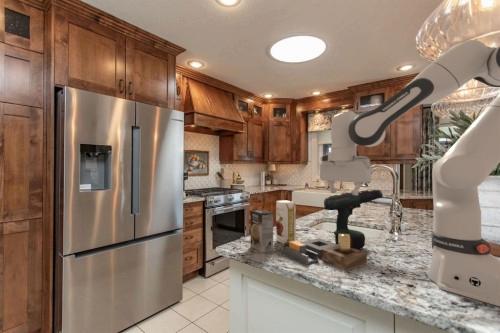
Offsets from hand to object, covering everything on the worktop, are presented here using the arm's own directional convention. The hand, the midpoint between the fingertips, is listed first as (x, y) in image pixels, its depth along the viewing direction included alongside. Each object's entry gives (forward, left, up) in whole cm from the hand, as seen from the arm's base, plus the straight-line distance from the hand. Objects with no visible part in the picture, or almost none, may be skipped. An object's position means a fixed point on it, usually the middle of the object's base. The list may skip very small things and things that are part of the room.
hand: (343, 194), depth 90 cm
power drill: (+8, -16, -25) cm, 31 cm away
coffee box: (+28, +18, -25) cm, 42 cm away
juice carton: (+30, +3, -25) cm, 39 cm away
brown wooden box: (0, 0, -25) cm, 25 cm away
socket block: (+13, -1, -25) cm, 28 cm away
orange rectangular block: (+13, +11, -24) cm, 29 cm away
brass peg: (0, 0, -24) cm, 24 cm away
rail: (+12, +11, -25) cm, 30 cm away
